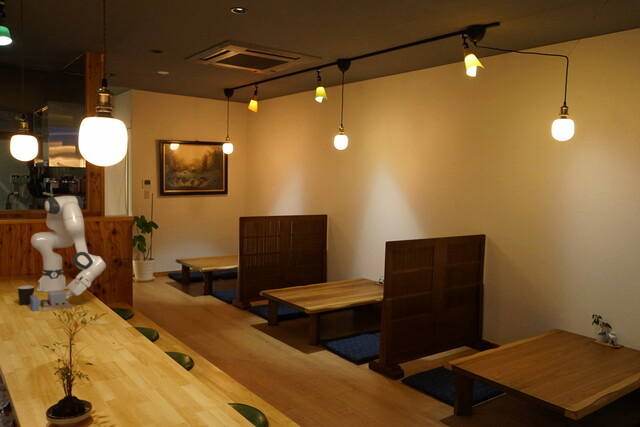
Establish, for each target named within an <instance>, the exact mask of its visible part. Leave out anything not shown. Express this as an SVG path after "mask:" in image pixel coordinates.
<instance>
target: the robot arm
mask: <svg viewBox="0 0 640 427" xmlns="http://www.w3.org/2000/svg"><path fill="white" fill-rule="evenodd" d="M83 208H84V201H83V198H82V197H81V196H79V195H61V196H55V197H54V196H52V197H48V198H46V200H45V201H44V209H45V211H46V212H47V213H46V220H45V225H46V226H47V228H48V229H50V230H52V231H41V232H37V233H36V232H35V233H34V234H32V236H31V238H30V243H31V246H32V247H33V248H35V249H36V250H37V251H38V252H39V253H40V254H41V256H42V263H43V265H42V266H43V269H42V272H41V273H42V275H41V277H40V279H38V280H37V281H38V282H37V283H38V285H37V287H36V289H35V290H36V292H45V293H48V291H56V290H63V291H65V290H67V292H65V293H66V298H67V299H69V298H70V297H72V296H73V295H74V296H76V297H78V296H80V295H81V294H82V293H83V292H85V291H86V290H87V289H89V288H90V287H91V285H92V282H94V280H95V279H96V278H97V277H98V276H100V275H101V273H103V271H104V270H105V269H106V268H107V263H106V261H105V260H104V258H103V257H102V256H99V255H94V254H90V253H89V250H88V246H87V241H86V238H85V221H84V216H83V212H82V210H83ZM73 245H74V247H75V250H76V251H75V252H76V253H75V255H74V256H73V264H74V265H75V266H76V268H77V269H78V270H80V272H78V274H77V275H76V276H75V278H74V279H72V281H71V282H69V283H68V284H67V285H66V276H65V275H64V274H63V273H64V268H63V257H62V256H61V254H59V253H57V252H54V251H53V249H65V248H70V247H72V246H73Z"/></svg>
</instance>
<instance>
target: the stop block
mask: <svg viewBox="0 0 640 427" xmlns="http://www.w3.org/2000/svg"><path fill="white" fill-rule="evenodd" d="M29 307H30V309H31V311H32V312H40V305H39V297H38V296H37V295H36V294H33V296H30V305H29Z"/></svg>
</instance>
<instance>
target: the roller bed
mask: <svg viewBox="0 0 640 427" xmlns="http://www.w3.org/2000/svg"><path fill="white" fill-rule="evenodd" d="M41 304H42V305H41ZM39 306H42V312H47V310H51V311H57V310H58V309H59V311H60V309H61V306H62V307H63V309H61V310H68V309H72V308H73V303H70V302H69V300H68V298H66V303H56V304H50V302H49V301H48V299H40V300H39ZM64 308H65V309H64Z"/></svg>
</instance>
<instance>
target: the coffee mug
mask: <svg viewBox="0 0 640 427" xmlns="http://www.w3.org/2000/svg"><path fill="white" fill-rule="evenodd" d="M34 292H35V286H34V285H23V286H22V285H21V286H18V287H17V295H18V301H19V306H30V296H33V295H35V294H34Z"/></svg>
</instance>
